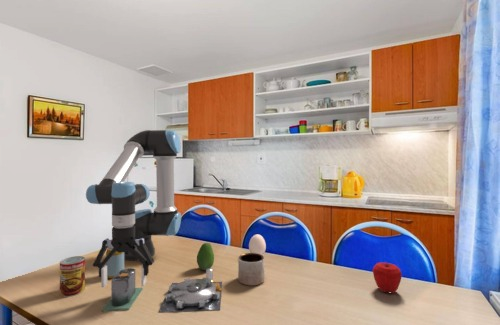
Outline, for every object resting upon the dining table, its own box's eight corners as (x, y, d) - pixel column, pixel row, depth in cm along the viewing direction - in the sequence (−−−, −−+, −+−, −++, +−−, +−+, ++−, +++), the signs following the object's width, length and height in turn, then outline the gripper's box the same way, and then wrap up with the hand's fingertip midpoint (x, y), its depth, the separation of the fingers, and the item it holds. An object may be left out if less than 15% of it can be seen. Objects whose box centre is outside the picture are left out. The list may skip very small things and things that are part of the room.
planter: (232, 280, 109) (232, 257, 109) (250, 272, 117) (250, 250, 117) (252, 289, 102) (252, 264, 102) (269, 279, 110) (269, 256, 110)
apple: (398, 287, 104) (398, 259, 104) (404, 299, 95) (404, 269, 95) (371, 283, 107) (371, 256, 107) (374, 294, 98) (374, 265, 98)
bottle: (116, 279, 109) (116, 243, 109) (102, 278, 111) (101, 242, 110) (127, 272, 116) (127, 238, 116) (113, 271, 118) (113, 237, 117)
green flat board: (119, 289, 101) (119, 288, 101) (142, 289, 102) (142, 287, 102) (102, 310, 87) (102, 308, 87) (128, 310, 88) (128, 307, 88)
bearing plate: (172, 283, 106) (172, 282, 106) (222, 282, 108) (222, 280, 108) (158, 312, 86) (158, 310, 86) (220, 310, 88) (220, 308, 88)
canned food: (58, 298, 94) (57, 265, 94) (61, 289, 101) (61, 258, 101) (84, 293, 98) (83, 261, 98) (85, 284, 105) (85, 254, 105)
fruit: (217, 267, 122) (217, 241, 122) (207, 274, 115) (207, 246, 115) (203, 264, 125) (203, 239, 125) (193, 271, 118) (193, 244, 118)
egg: (255, 252, 142) (255, 231, 142) (268, 256, 137) (269, 234, 137) (245, 257, 135) (245, 235, 135) (259, 261, 130) (259, 238, 130)
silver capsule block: (122, 289, 100) (122, 268, 100) (137, 289, 100) (137, 267, 100) (108, 306, 88) (108, 282, 88) (125, 305, 89) (125, 282, 89)
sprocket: (210, 278, 110) (210, 258, 110) (229, 300, 93) (229, 277, 93) (161, 288, 101) (161, 267, 101) (172, 315, 84) (172, 290, 84)
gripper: (81, 229, 89) (81, 291, 90) (156, 227, 91) (156, 288, 92) (92, 223, 97) (93, 280, 97) (162, 222, 99) (162, 278, 99)
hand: (124, 284), depth 94 cm, fingers open, 13 cm apart
